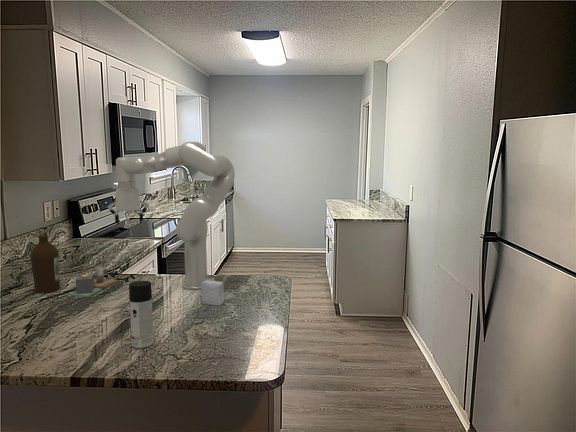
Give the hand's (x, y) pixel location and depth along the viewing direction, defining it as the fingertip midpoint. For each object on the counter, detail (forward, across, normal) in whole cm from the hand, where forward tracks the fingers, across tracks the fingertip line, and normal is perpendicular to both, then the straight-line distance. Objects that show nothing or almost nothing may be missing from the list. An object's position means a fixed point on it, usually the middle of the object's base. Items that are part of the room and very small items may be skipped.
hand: (129, 223), depth 196 cm
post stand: (+27, -14, 0) cm, 30 cm away
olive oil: (+27, -35, -2) cm, 44 cm away
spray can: (+28, +4, -68) cm, 74 cm away
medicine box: (+28, +30, -39) cm, 57 cm away
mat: (+27, -19, -10) cm, 35 cm away
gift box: (+26, -19, -10) cm, 34 cm away
